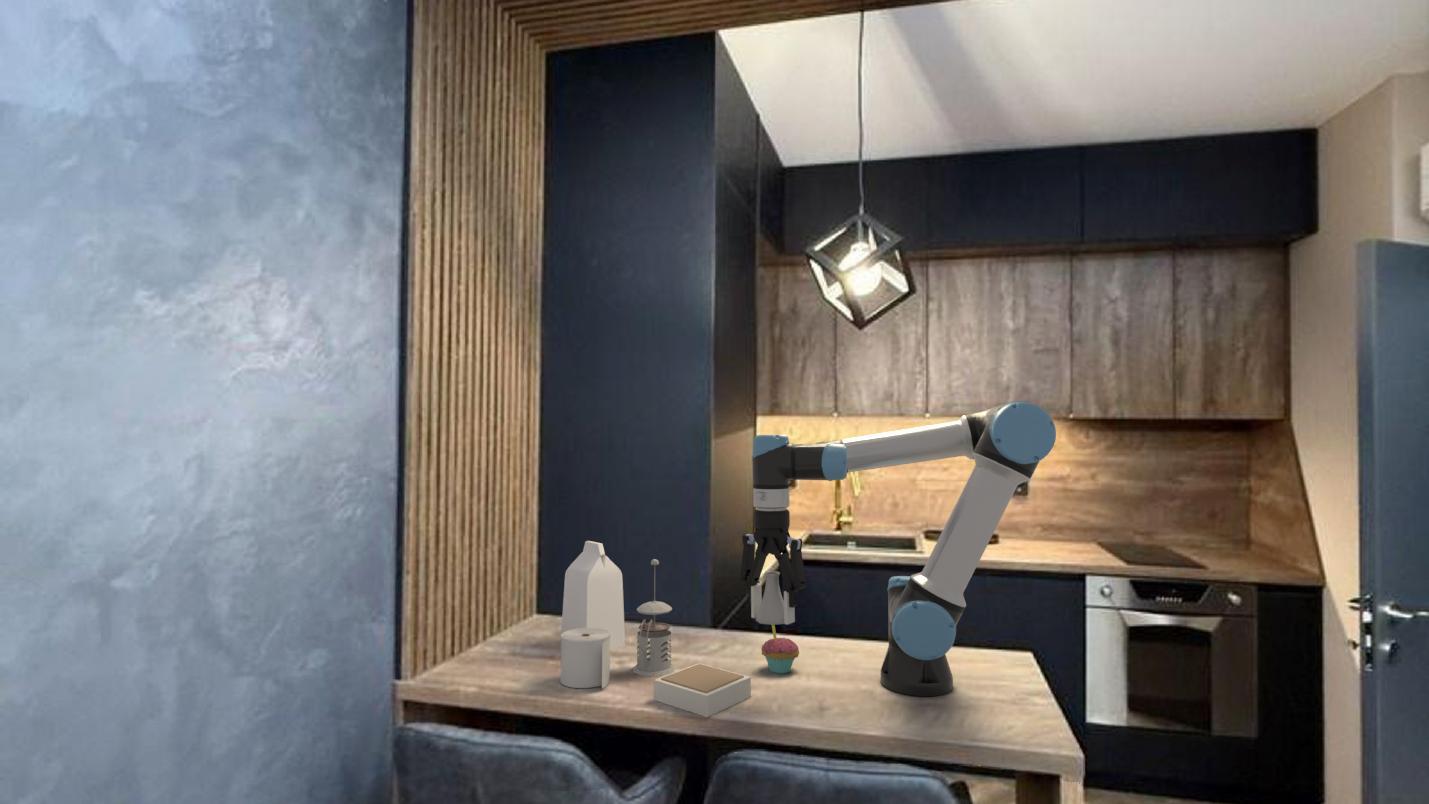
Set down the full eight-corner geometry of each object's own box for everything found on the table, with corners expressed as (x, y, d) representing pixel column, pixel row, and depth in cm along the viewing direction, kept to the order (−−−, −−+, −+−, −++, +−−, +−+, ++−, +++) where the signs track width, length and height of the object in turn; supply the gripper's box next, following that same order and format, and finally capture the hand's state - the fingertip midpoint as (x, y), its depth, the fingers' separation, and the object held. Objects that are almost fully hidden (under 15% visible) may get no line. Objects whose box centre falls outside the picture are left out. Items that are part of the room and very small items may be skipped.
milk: (560, 644, 187) (561, 541, 188) (598, 636, 195) (599, 537, 196) (586, 655, 178) (587, 547, 179) (625, 646, 186) (626, 543, 187)
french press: (681, 664, 172) (681, 556, 173) (664, 680, 161) (665, 565, 162) (641, 660, 174) (642, 554, 175) (622, 676, 163) (623, 563, 164)
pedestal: (750, 696, 151) (750, 675, 151) (706, 717, 140) (707, 694, 140) (698, 681, 160) (699, 661, 160) (654, 699, 149) (654, 678, 149)
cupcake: (768, 677, 163) (768, 622, 163) (756, 665, 171) (756, 613, 172) (804, 674, 165) (804, 620, 166) (790, 662, 173) (790, 611, 174)
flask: (791, 626, 148) (790, 576, 149) (755, 626, 149) (755, 576, 149) (789, 617, 156) (788, 569, 156) (754, 617, 156) (754, 569, 156)
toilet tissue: (576, 670, 168) (577, 625, 168) (623, 676, 163) (624, 630, 164) (550, 685, 158) (551, 638, 158) (600, 692, 153) (601, 643, 154)
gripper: (721, 507, 157) (722, 615, 156) (803, 513, 144) (805, 631, 143) (743, 504, 162) (744, 609, 161) (823, 510, 149) (825, 623, 148)
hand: (772, 619), depth 152 cm, fingers closed on flask, 8 cm apart
